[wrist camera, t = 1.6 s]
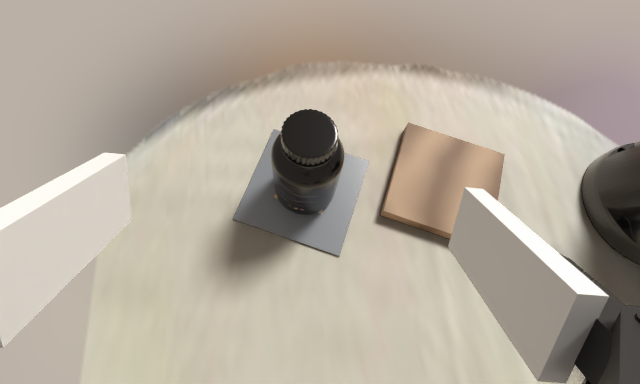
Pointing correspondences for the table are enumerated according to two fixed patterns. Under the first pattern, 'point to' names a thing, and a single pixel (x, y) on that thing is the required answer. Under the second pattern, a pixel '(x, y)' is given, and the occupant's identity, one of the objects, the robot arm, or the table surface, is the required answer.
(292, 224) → the gray card
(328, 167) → the supplement bottle
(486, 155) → the walnut board
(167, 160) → the table surface
